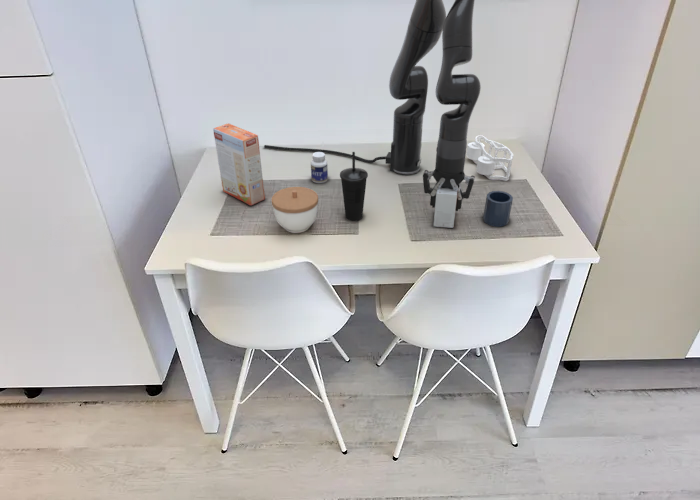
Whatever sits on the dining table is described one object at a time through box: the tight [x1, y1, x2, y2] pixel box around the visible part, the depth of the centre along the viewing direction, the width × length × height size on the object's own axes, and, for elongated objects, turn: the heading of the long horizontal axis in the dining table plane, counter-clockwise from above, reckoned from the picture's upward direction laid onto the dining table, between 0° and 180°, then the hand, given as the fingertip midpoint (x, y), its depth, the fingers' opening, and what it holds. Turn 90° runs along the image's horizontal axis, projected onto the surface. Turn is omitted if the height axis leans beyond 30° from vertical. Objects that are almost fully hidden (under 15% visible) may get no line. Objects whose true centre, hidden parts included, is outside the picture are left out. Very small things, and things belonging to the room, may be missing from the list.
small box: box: [433, 187, 457, 229], centre depth 148 cm, size 8×6×10 cm
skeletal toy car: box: [465, 134, 514, 182], centre depth 175 cm, size 20×11×7 cm, turn 7°
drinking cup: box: [339, 151, 369, 222], centre depth 147 cm, size 8×8×20 cm
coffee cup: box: [482, 190, 514, 228], centre depth 148 cm, size 7×7×8 cm
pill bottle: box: [310, 152, 329, 184], centre depth 169 cm, size 5×5×9 cm
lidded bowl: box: [270, 186, 319, 234], centre depth 146 cm, size 13×13×11 cm
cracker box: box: [212, 122, 266, 206], centre depth 158 cm, size 14×6×21 cm, turn 47°
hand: (445, 207), depth 148 cm, fingers closed on small box, 6 cm apart
